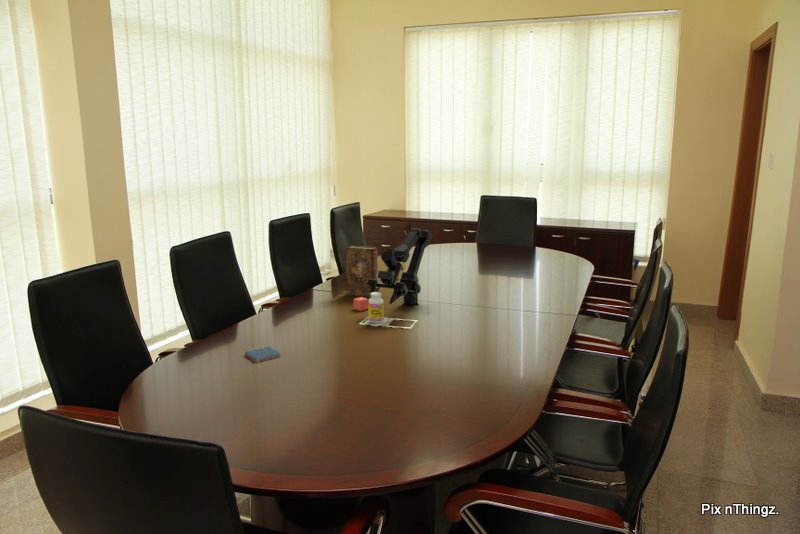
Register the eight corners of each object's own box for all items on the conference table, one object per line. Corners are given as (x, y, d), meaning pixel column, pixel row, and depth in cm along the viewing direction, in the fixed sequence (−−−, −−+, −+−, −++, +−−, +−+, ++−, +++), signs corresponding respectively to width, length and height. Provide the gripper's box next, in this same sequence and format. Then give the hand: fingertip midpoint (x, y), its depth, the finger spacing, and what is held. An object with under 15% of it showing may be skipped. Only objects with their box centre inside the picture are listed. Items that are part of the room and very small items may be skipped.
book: (379, 295, 313) (378, 247, 308) (375, 297, 308) (374, 249, 303) (350, 292, 319) (349, 245, 314) (346, 294, 314) (344, 247, 309)
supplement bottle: (369, 324, 264) (368, 295, 262) (368, 319, 271) (367, 291, 268) (384, 323, 265) (384, 294, 262) (383, 318, 272) (382, 291, 269)
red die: (362, 307, 291) (362, 295, 290) (368, 309, 288) (368, 297, 287) (353, 308, 288) (353, 297, 287) (359, 311, 285) (359, 299, 283)
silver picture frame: (418, 321, 268) (418, 320, 268) (410, 329, 257) (410, 328, 257) (368, 317, 275) (368, 316, 275) (359, 324, 264) (359, 323, 264)
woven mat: (243, 356, 228) (243, 351, 228) (269, 350, 234) (269, 345, 234) (254, 364, 220) (254, 359, 219) (281, 358, 226) (281, 353, 225)
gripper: (368, 261, 275) (356, 290, 268) (404, 265, 267) (393, 295, 260) (377, 274, 284) (365, 303, 277) (413, 279, 275) (401, 308, 268)
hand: (381, 302), depth 270 cm, fingers open, 9 cm apart
